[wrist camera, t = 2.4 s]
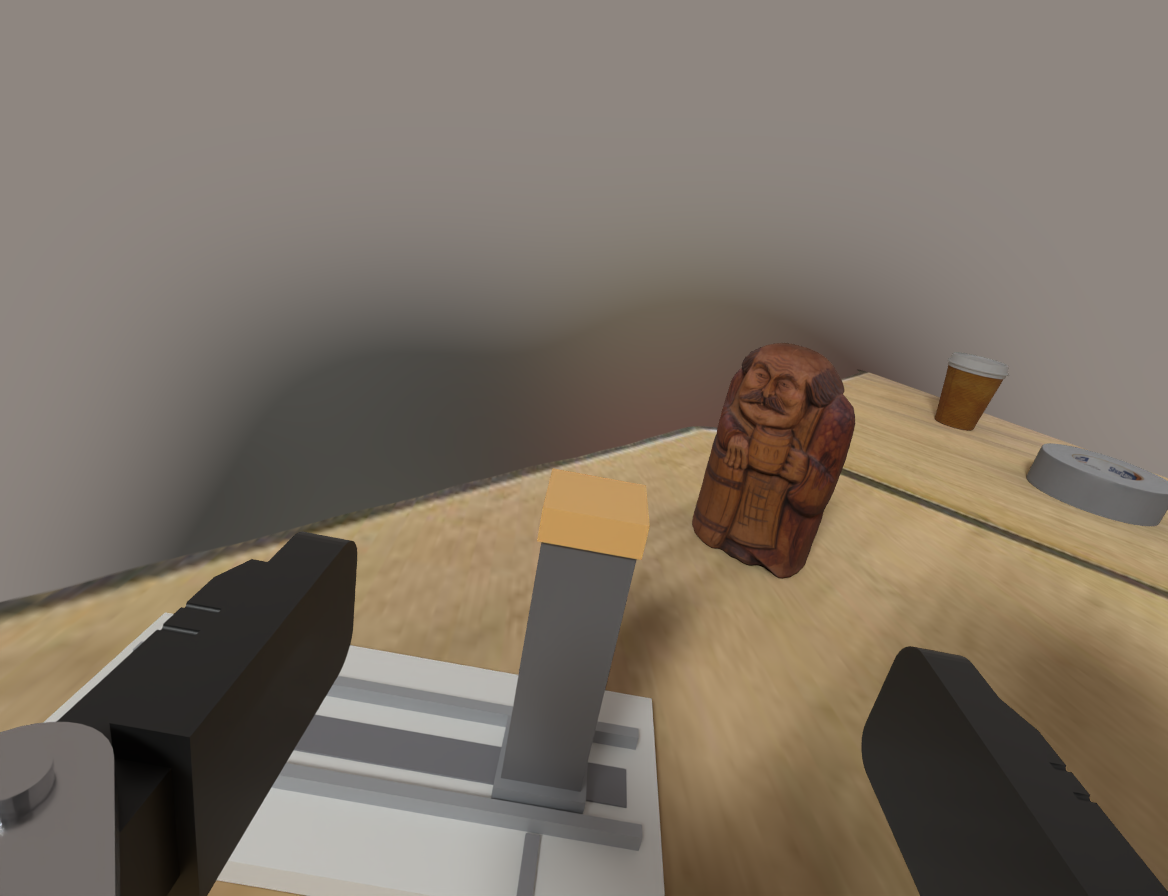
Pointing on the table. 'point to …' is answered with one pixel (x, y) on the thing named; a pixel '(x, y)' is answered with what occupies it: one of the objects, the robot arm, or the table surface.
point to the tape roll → (1100, 484)
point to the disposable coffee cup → (968, 389)
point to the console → (442, 794)
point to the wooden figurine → (775, 458)
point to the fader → (570, 637)
